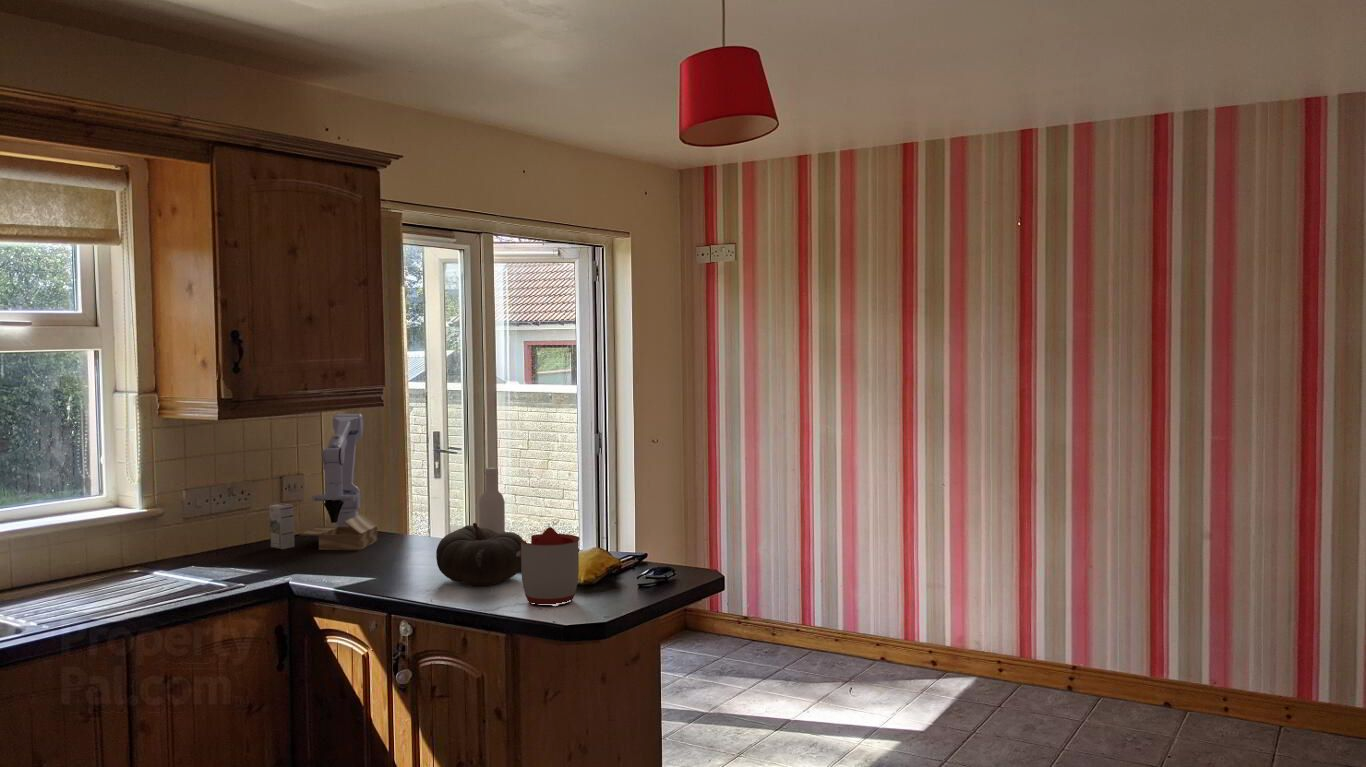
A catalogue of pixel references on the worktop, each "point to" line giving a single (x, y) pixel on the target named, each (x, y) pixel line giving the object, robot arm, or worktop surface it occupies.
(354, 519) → the carton flap
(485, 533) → the gourd
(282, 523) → the syrup box
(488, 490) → the bottle
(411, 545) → the worktop surface
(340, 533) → the carton
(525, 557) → the citrus juicer
